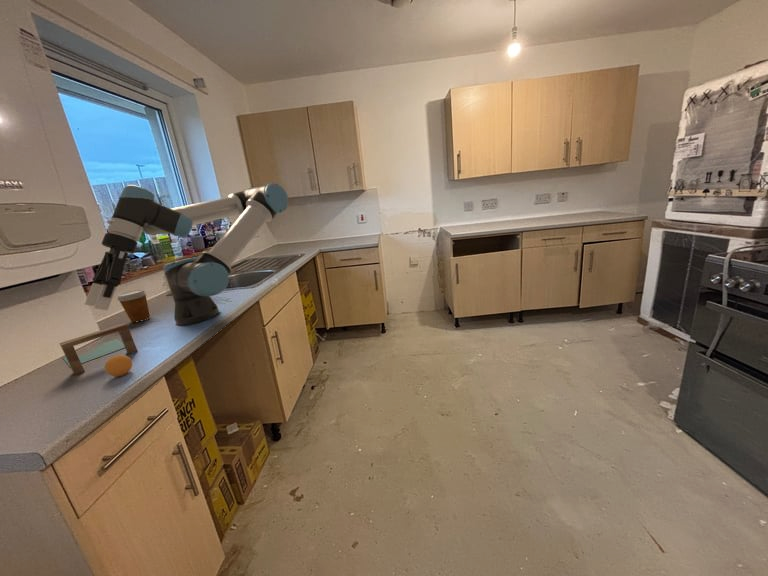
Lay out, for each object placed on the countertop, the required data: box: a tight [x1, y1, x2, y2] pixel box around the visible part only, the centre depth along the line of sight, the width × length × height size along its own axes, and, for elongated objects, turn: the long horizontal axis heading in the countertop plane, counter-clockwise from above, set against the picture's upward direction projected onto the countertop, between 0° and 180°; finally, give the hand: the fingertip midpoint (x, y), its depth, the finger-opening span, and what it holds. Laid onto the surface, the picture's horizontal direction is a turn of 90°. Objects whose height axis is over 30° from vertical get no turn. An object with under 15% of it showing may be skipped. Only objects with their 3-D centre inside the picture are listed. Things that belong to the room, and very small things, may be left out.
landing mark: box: [62, 338, 125, 367], centre depth 100 cm, size 14×14×1 cm
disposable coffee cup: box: [116, 288, 151, 323], centre depth 127 cm, size 10×10×12 cm
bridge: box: [59, 322, 138, 376], centre depth 91 cm, size 3×14×9 cm, turn 143°
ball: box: [104, 354, 133, 377], centre depth 82 cm, size 6×6×6 cm
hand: (95, 307), depth 87 cm, fingers open, 13 cm apart
